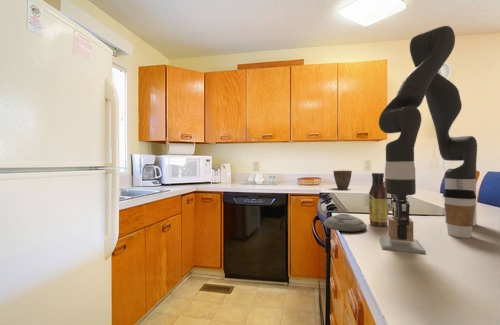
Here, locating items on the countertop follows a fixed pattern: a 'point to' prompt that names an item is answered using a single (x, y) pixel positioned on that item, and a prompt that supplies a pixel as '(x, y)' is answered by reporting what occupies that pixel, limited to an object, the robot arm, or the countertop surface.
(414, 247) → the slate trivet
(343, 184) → the plant pot
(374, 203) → the sauce bottle
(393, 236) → the walnut cube
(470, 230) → the coffee cup
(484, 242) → the countertop surface
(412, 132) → the robot arm
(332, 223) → the flying saucer
